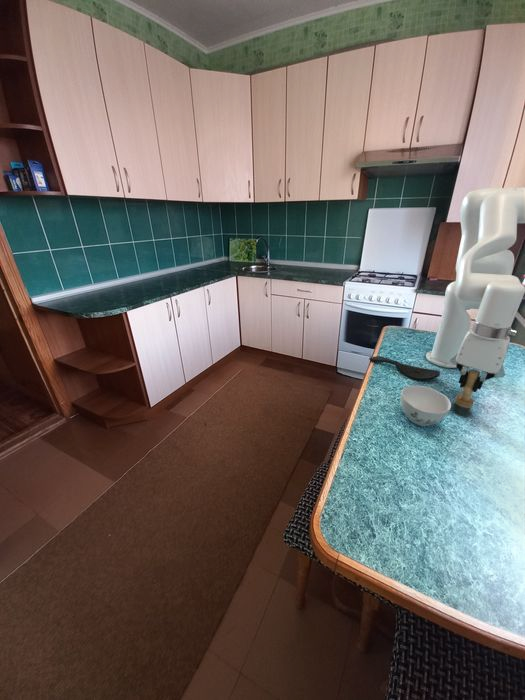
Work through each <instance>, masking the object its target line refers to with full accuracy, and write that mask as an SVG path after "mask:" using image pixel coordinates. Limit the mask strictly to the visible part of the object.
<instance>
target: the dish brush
mask: <svg viewBox="0 0 525 700" xmlns="http://www.w3.org/2000/svg"><path fill="white" fill-rule="evenodd" d="M480 375H481V372H480V370H478V369H475V368H469V369H468V375H467V378H466V381H465V384H464V386H463V388H461V392H460V393H459V394H456V395H455V396H454V400H453V402H452V404H451V408H450V410H451V411H452V412H453V413H454V414H457V415H459V416H463V417H467V416H469V415H470V413H471V410H472V408H473V405H474V402H475V401H474V399H473V398H472V396H473V393H474V392H473V389H474V386H475V384H476V381H477V379H478V378H479V377H480Z"/></svg>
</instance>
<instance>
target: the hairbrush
mask: <svg viewBox="0 0 525 700" xmlns="http://www.w3.org/2000/svg"><path fill="white" fill-rule="evenodd" d="M372 357H373V358H372ZM368 360H369V361H370V362H376V363H386V364H389V365H394V366H395V367H396V368H397V370H398V371H399V372H400V373H401V374H402V375H404V376H405V377H407V378H409V379H411V380H416V381H429V380H434V379H436V378H438V377H440V375H441V371H440V370H439V368H436V369H431V367H428V368H427V366H426V365H425V366H423V365H420V366H419V365H417V364H413V363H410V362H408V361H407V363H408V364H406V363H404V364H403V363H402V362H399V361H397V360H394V359H391V358H389V357H384V356H370V357H369V358H368ZM412 364H413V365H412ZM414 365H415V366H414Z"/></svg>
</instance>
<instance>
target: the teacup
mask: <svg viewBox="0 0 525 700" xmlns="http://www.w3.org/2000/svg"><path fill="white" fill-rule="evenodd" d="M400 405H401V409H402V411H403V413H404V415H405V416H406V417H407V418H408V420H409V421H410V422H411V423H413V424H414V425H417V426H421V427H427V426H430V425H434V424H436V423H439V422H440V421H442V420H443V419H444V418H445V417H447V415H448V413H449V412H450V410H451V408H452V403H451V400H450V399H449V397H447V396H446V395H445V394H443V393H441V392H439V391H438V390H436V389H434V388H433V387H430V386H429V387H428V386H423V385H409V386H405V387H403V389H402V390H401V393H400Z"/></svg>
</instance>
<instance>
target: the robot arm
mask: <svg viewBox="0 0 525 700" xmlns="http://www.w3.org/2000/svg"><path fill="white" fill-rule="evenodd" d="M459 220H460V228H461V239H460V242H459V248H458V252H457V257H456V262H455V273H456V275H455V280H454V281H452V282H450V283H449V284H447V286H446V288H445V293H444V302H443V307H442V308H443V309H442V312H441V317H440V320H439V325H438V327H437V332H436V335H435V339H434V342H433V346H432V349H431V350H429V351H427V353H426V355H425V358H426V360H427V361H428V362H430V363H431V364H432V365H433V364H434V365H435V366H438V367H441V368H447V369H453V368H454V369H458V372H459V373H460V377H459V380H458V384H460V385H459V388H460V389H463V386H464V384H465V381H466V378H467V375H468V372H469V370H470V369H475V370H478V371H481V372H480V375H479V378H478V379H477V381H476V384H475V386H474V389H473V393H475V394H476V393H477V391H478V390H479V391H480V390H482V387H483V385H484V382H485V381H487V380H491V379H493V378H495V379H499V378H505V376H506V371H505V368H504V363H505V360H506V357H507V354H508V351H509V347H510V341H511V337H510V336H516V334H517V332H518V330H515V329H513V328H512V324H513V322H514V320H515V318H516V315H517V312H518V310H519V308H520V305H521V303H522V300H523V298H524V295H525V286H524V284H522V282H521V280H520V279H519V277H517V276H515V275H512V274H513V270H514V266H515V255H514V253H513V252H512V250H510V248H511V247H513V246H514V245H515V243H516V241H517V235H518V234H517V233H518V224H525V187H523V186H522V187H521V186H520V187H488V188H479V189H473V190H471V191H469V192H467V194H466V195H465V196H464V197H463V199H462V202H461V205H460V211H459ZM467 310H477V314H476V317H475V320H474V323H473V325H472V317H471V314H469V312H468V311H467ZM471 325H472V327H471Z"/></svg>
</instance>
